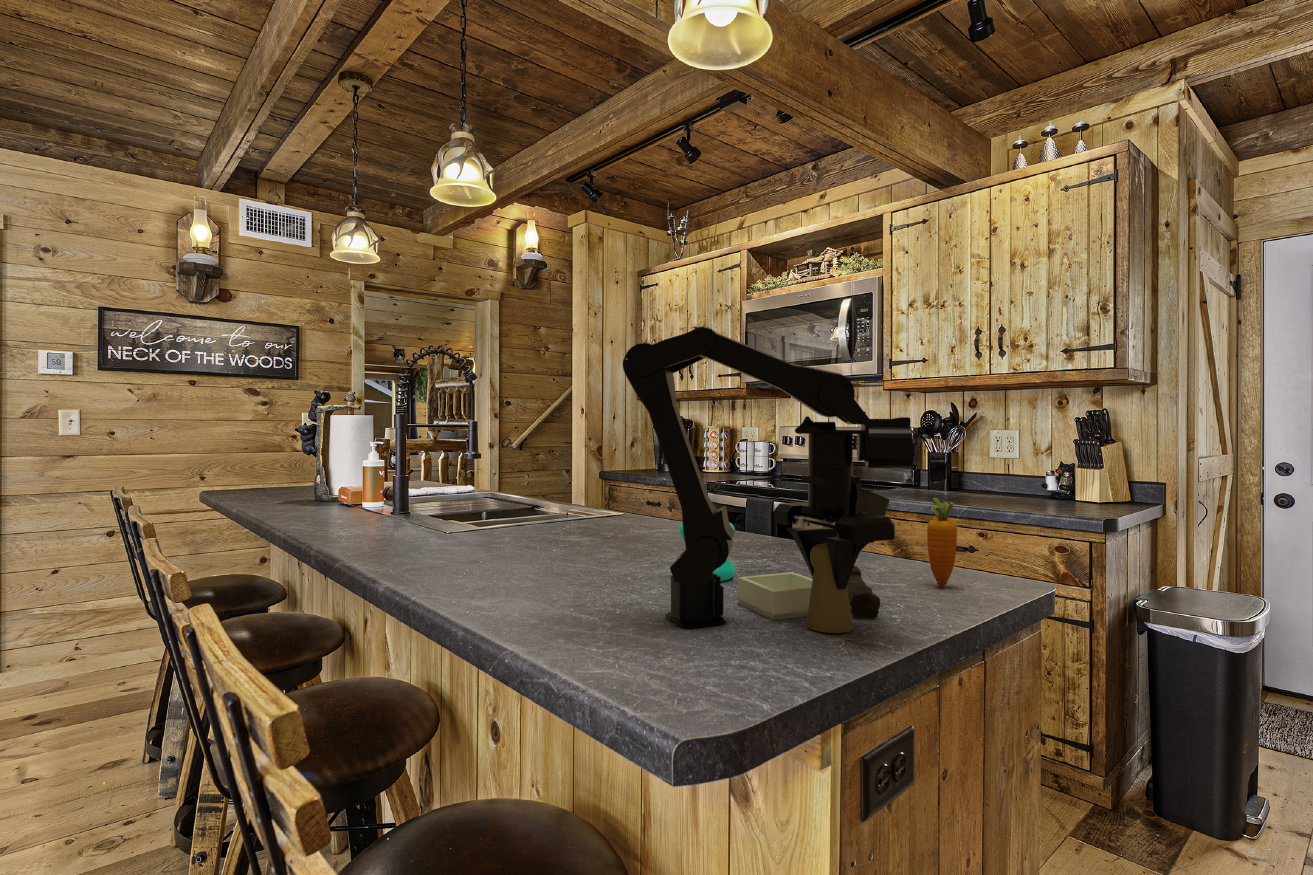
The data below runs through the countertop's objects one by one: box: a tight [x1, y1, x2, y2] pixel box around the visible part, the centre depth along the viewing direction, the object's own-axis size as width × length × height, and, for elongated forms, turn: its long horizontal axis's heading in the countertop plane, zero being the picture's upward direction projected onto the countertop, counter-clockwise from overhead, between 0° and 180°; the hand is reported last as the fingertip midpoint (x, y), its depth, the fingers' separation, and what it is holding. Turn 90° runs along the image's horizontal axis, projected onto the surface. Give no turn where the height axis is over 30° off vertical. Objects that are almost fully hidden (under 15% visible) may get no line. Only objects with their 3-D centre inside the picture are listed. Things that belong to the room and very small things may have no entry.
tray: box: [737, 571, 813, 621], centre depth 101 cm, size 10×10×4 cm
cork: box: [805, 543, 854, 634], centre depth 91 cm, size 6×6×11 cm
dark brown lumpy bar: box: [847, 565, 881, 620], centre depth 105 cm, size 19×4×5 cm, turn 169°
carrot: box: [926, 497, 958, 589], centre depth 114 cm, size 5×5×15 cm
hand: (829, 584), depth 91 cm, fingers closed on cork, 5 cm apart
